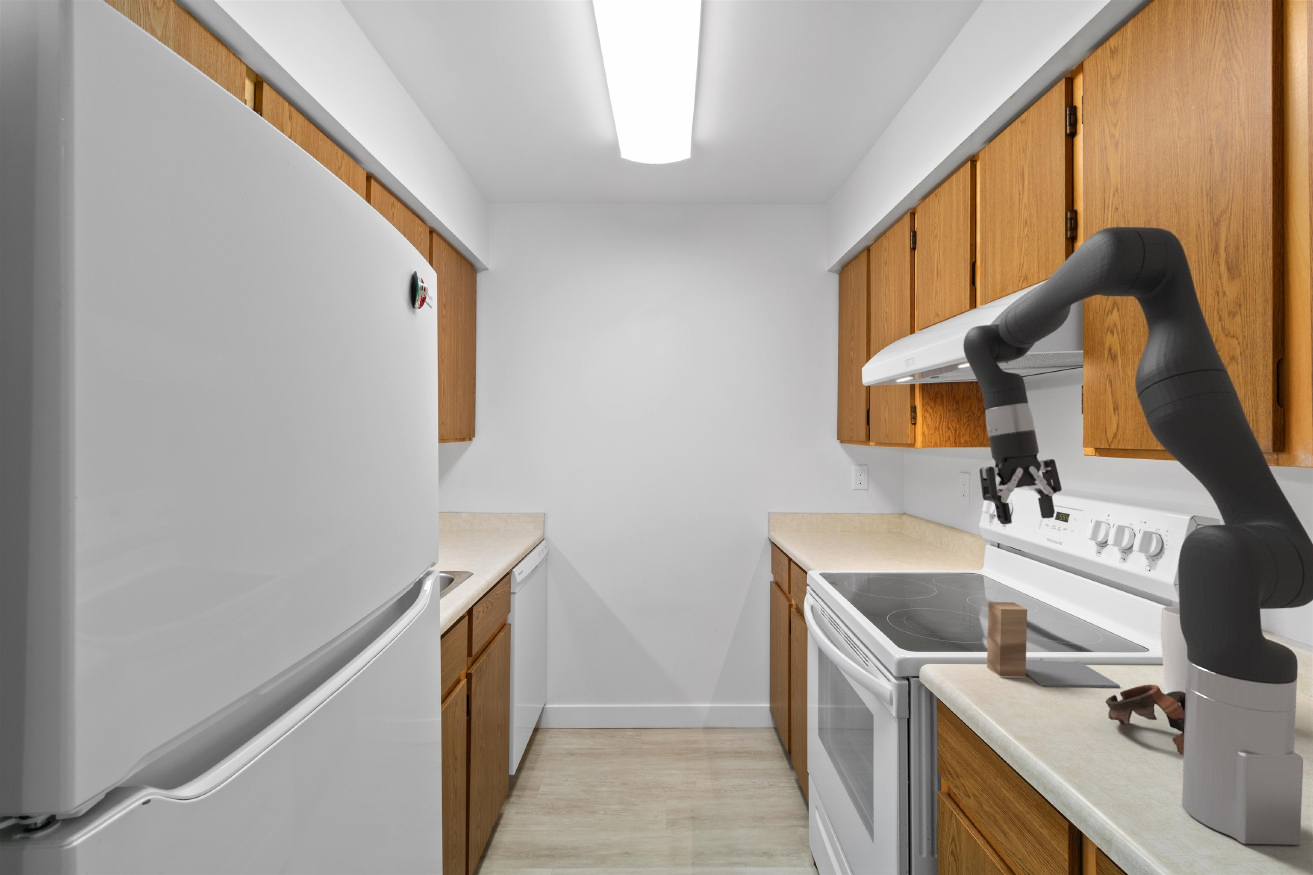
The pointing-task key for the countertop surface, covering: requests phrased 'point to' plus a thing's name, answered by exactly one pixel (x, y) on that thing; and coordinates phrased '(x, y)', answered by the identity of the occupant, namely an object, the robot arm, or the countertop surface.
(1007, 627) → the plain brown block
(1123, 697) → the brown jagged ring
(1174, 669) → the drinking glass
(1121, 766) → the countertop surface
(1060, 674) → the mat
